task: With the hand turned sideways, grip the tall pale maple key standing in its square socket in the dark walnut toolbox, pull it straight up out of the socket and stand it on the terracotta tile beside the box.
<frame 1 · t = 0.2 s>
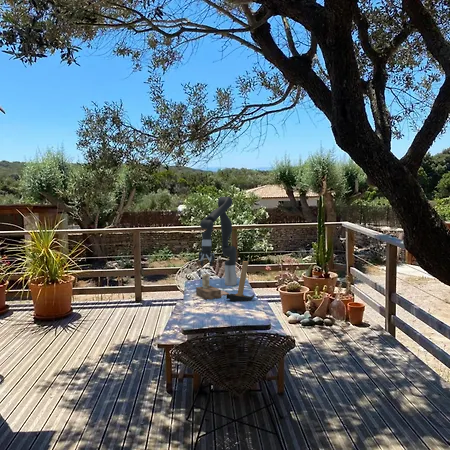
hand: (206, 266, 335), 22 cm above the table, fingers open, 8 cm apart
terracotta tile: (221, 293, 335), on the table
hammer: (240, 300, 313), on the table
walnut toolbox: (208, 296, 327), on the table
maple key: (206, 295, 331), resting in walnut toolbox
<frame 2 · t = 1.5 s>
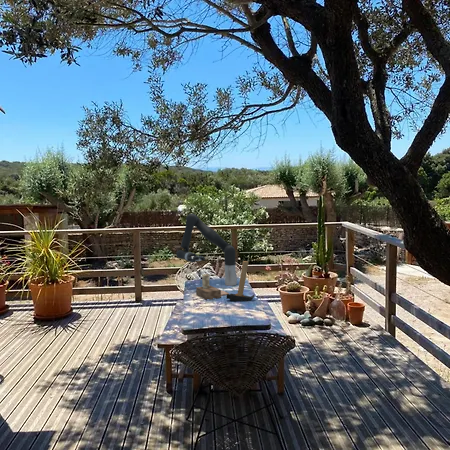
hand: (199, 259, 338), 26 cm above the table, fingers open, 8 cm apart
nothing on the table moved.
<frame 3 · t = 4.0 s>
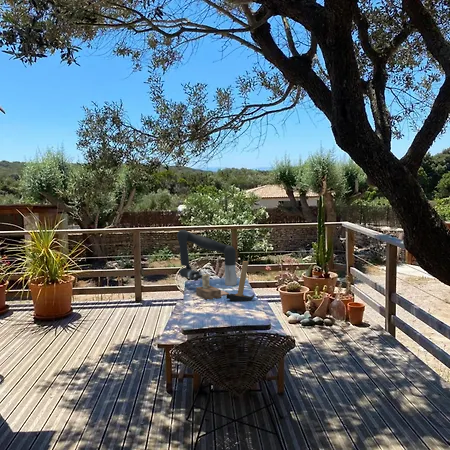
hand: (202, 278, 335), 12 cm above the table, fingers open, 8 cm apart
nothing on the table moved.
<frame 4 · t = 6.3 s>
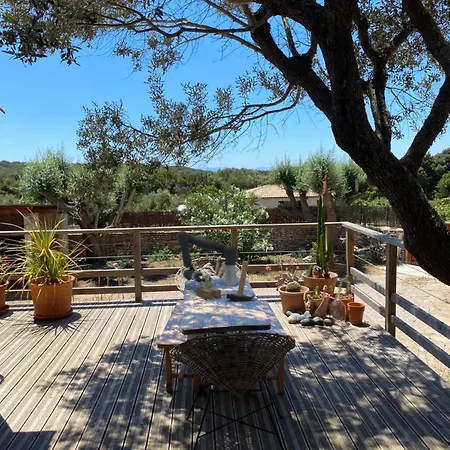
hand: (207, 280, 328), 12 cm above the table, fingers closed on maple key, 4 cm apart
maple key: (206, 295, 331), resting in walnut toolbox, touching gripper
everything else where it was.
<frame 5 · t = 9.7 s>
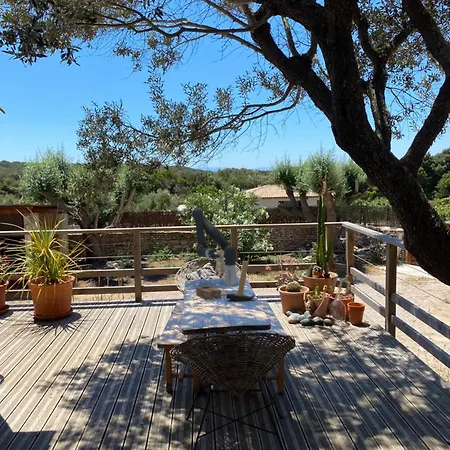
hand: (221, 256, 330), 30 cm above the table, fingers closed on maple key, 4 cm apart
maple key: (220, 271, 333), point 18 cm above the table, touching gripper
everything else where it was.
when the fingers open (14 cm above the table, at t = 13.1 s): maple key drops 1 cm, resting on terracotta tile.
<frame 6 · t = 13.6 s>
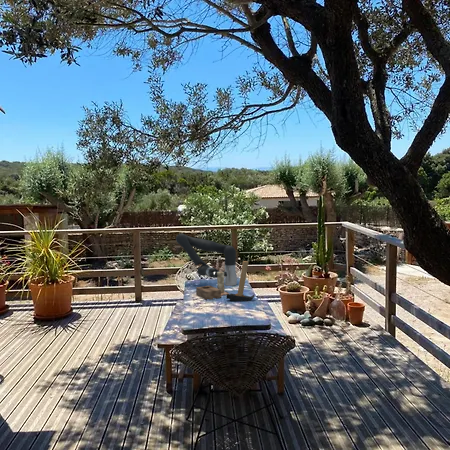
hand: (221, 275, 332), 15 cm above the table, fingers open, 8 cm apart
maple key: (221, 292, 335), point 1 cm above the table, touching terracotta tile
everything else where it was.
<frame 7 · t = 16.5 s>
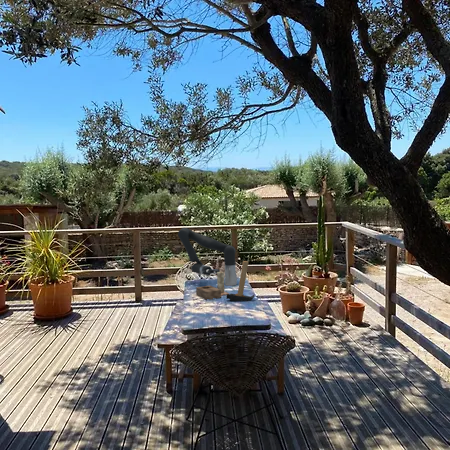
hand: (214, 273, 343), 15 cm above the table, fingers open, 8 cm apart
nothing on the table moved.
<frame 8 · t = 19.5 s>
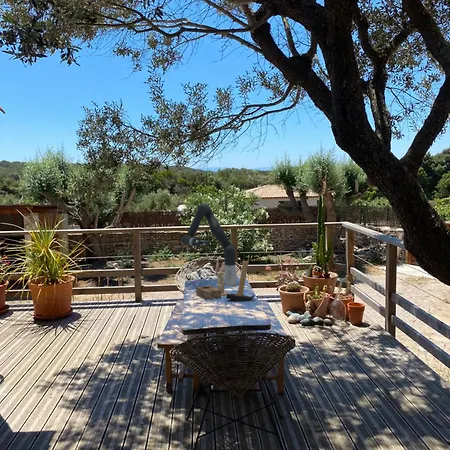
hand: (203, 244, 343), 38 cm above the table, fingers open, 8 cm apart
nothing on the table moved.
at the end: maple key inside the target area on the terracotta tile (0.1 cm from its centre), point 1.0 cm above the terracotta tile's base; maple key tilted 0°; the gripper is holding nothing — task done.
